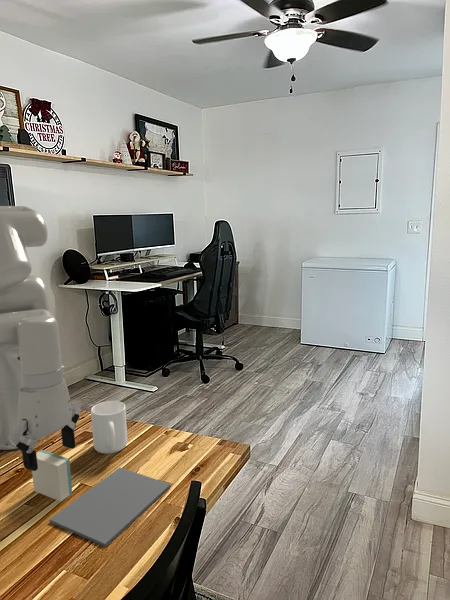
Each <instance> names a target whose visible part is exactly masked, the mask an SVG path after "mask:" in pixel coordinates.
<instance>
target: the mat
mask: <svg viewBox="0 0 450 600" xmlns="http://www.w3.org/2000/svg"><path fill="white" fill-rule="evenodd" d="M171 487H172V483H168V482H166V481H162V480H159V479H156V478H154V477H150V476H147V475H144V474H141V473H138V472H136V471H131V470H129V469H126V468H123V467H119V468H117V469H116V470H114V471H113V472H112V473H110V474H109V475H108V476H106V477H105V478H103V479H102V480H101V481H100V482H98V483H96V485H94V486H93V487H91V488H90V489H88V490H87V491H86V492H85V493H83V494H82V495H80V496H79V497H78V498H76V499H75V500H73V501H72V502H71V503H69V504H68V505H67V506H65V507H64V508H63V509H61V510H60V511H59V512H58V513H56V514H55V515H53V516H52V517H51V518H49V523H51V524H53V525H55V526H57V527H60V528H62V529H65V531H69V532H70V533H74V534H75V535H77V536H80V537H82V538H84V539H87V540H90V541H92V542H93V543H96V544H98V545H99V546H100V545H101V546H103V547H107V546H109V544H110V543H112V542H113V541H114V540H115V539H116V538H117V537H118V536H119V535H120V534H121V533H122V532H123V531H124V530H126V529H127V527H129V526H130V525H131V524H132V523H133V522H135V521H136V519H138V518H139V516H141V515H142V514H143V513H144V512H145V511H146V510H147V509H148V508H149V507H150V506H151V505H153V504H154V503H155V502H156V501H157V500H158V499H159V498H160V497H161V496H163V494H164V493H166V492H167V491H168V490H169V489H170V488H171Z"/></svg>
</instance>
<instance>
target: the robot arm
mask: <svg viewBox="0 0 450 600" xmlns="http://www.w3.org/2000/svg"><path fill="white" fill-rule="evenodd" d="M48 234H49V233H48V227H47V223H46V222H45V219H44V218H43V216H42V215H41V213H39V211H37V210H35V209H33V208H31V207H28V206H24V205H23V206H22V205H7V206H6V205H0V451H1V450H2V451H7V450H9V451H10V450H16V449H17V450H18V451H21V454H22V463H23V466H24V468H25V469H27V470H30V471H31V472H32V471H36V470H37V469H38V465H37V456H36V453H37V452H36V450H34V449H35V447H36V445H37V442H38V440H41V439H42V438H45V437H47V436H49V435H50V434H52V433H55V432H57V431H59V430H61V431H60V432H61V441H62V443H61V444H62V447H64V448H69V449H71V450H72V449H75V448H76V438H75V430H76V429H77V423H78V421H79V419H80V415H79V414H80V412H81V409H82V404H80V403H75V402H71V396H70V392H69V389H68V384H67V382H66V379H65V378H64V376H63V375H64V374H63V372H64V371H66V367H65V365H63V364H62V353H61V344H60V334H59V333H60V332H59V324H58V321H57V319H56V318H55V316H54V315H53V313H52V307H51V303H50V302H51V301H50V298H49V294H48V289H47V286H46V284H45V282H44V281H43V279H42V278H40V277H39V276H37V275H31V273H32V264H31V261H30V258H29V254H28V251H27V248H37V247H38V248H39V247H42V246H44V245H45V244H46V243H47V241H48V236H49V235H48ZM18 358H19V359H18Z"/></svg>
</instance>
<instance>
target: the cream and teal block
mask: <svg viewBox="0 0 450 600" xmlns="http://www.w3.org/2000/svg"><path fill="white" fill-rule="evenodd" d="M36 456H37V465H38V469H37V470H36V471H32V470H31V475H32V484H33V492H36V493H39V494H41V495H44V496H47V497H48V498H50V499H54V500H56V501H58V502H63V501H64V500H66V499H68V497H70V496H71V495H72V494H73V488H72V487H73V485H72V476H71V464H70V463H71V461H70V458H68V457H65V456H62V455H58V454H56V453H52V452H50V451H47V450H44V449H41V450H39V451H37V452H36Z"/></svg>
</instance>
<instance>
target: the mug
mask: <svg viewBox="0 0 450 600" xmlns="http://www.w3.org/2000/svg"><path fill="white" fill-rule="evenodd" d="M90 414H91V417H90V418H91V427H92V431H91V432H92V441H93V442H92V443H93V449H94V450H95V452H98V453H101V454H107V455H108V454H114V453H119V452H120V451H122V450H123V449H124V448H125V447H126V446H127V444H128V431H127V430H128V429H127V428H128V426H127V413H126V404H125V403H124V402H122V401H118V400H109V401H103V402H99V403H97V404H94V405H93V406H92V407H91V409H90Z"/></svg>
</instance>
